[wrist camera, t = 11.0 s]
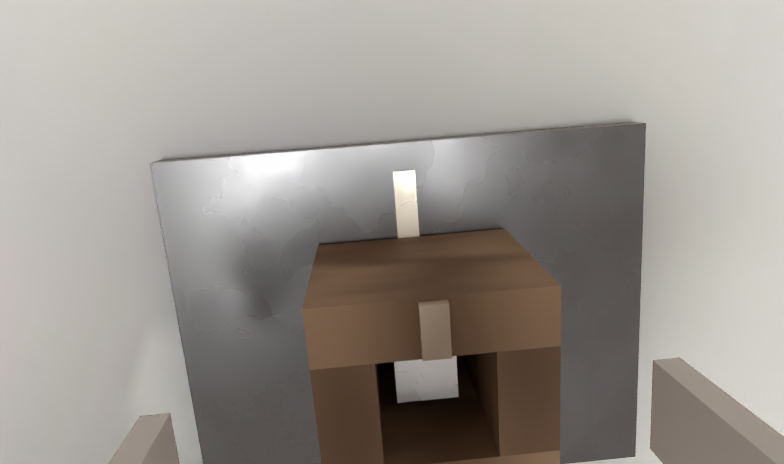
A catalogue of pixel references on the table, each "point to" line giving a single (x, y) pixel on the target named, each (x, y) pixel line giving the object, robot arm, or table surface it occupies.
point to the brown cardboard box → (435, 350)
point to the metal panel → (388, 221)
